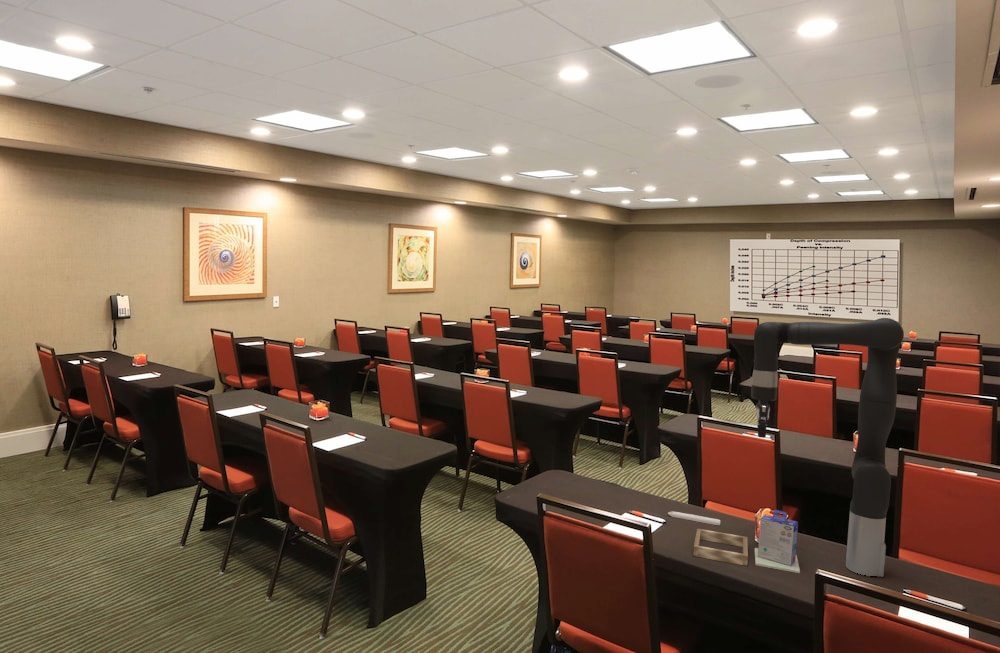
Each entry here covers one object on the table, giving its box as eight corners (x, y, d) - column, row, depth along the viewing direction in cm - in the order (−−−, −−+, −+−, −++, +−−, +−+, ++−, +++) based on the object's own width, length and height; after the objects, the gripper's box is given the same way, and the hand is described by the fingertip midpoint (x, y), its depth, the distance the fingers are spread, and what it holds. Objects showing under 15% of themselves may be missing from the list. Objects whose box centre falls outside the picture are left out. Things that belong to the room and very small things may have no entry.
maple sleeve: (746, 546, 196) (747, 537, 195) (747, 565, 181) (747, 556, 181) (696, 537, 201) (697, 528, 201) (693, 555, 187) (693, 546, 187)
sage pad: (796, 556, 189) (796, 555, 189) (799, 573, 178) (800, 571, 178) (754, 549, 193) (754, 547, 193) (755, 565, 182) (755, 563, 182)
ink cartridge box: (796, 560, 185) (799, 514, 184) (792, 566, 180) (795, 519, 179) (762, 551, 191) (765, 505, 190) (757, 556, 187) (760, 510, 186)
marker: (666, 517, 219) (667, 510, 219) (667, 515, 221) (668, 508, 221) (719, 526, 212) (720, 520, 212) (720, 524, 214) (720, 518, 213)
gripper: (778, 388, 186) (775, 440, 187) (776, 382, 200) (772, 431, 201) (752, 386, 189) (748, 437, 190) (751, 380, 202) (748, 428, 203)
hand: (761, 434), depth 195 cm, fingers open, 8 cm apart
